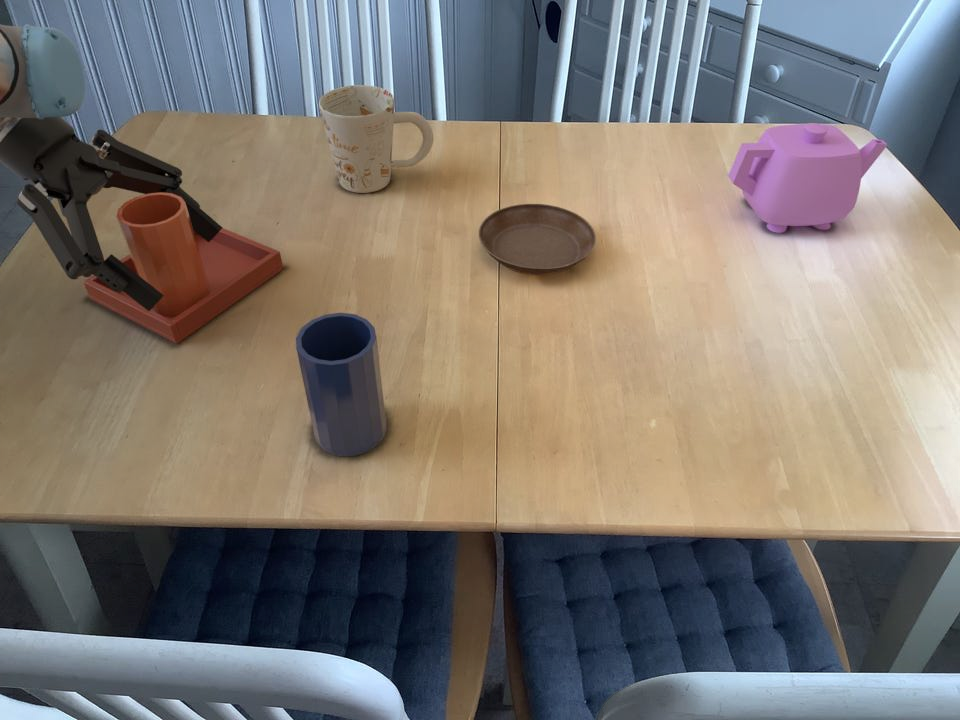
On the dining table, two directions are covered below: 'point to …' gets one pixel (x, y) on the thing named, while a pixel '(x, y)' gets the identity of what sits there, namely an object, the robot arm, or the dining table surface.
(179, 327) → the red tray
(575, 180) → the dining table surface
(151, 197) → the terracotta tumbler
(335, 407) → the blue tumbler
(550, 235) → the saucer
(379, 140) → the mug
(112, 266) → the robot arm
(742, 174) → the teapot
